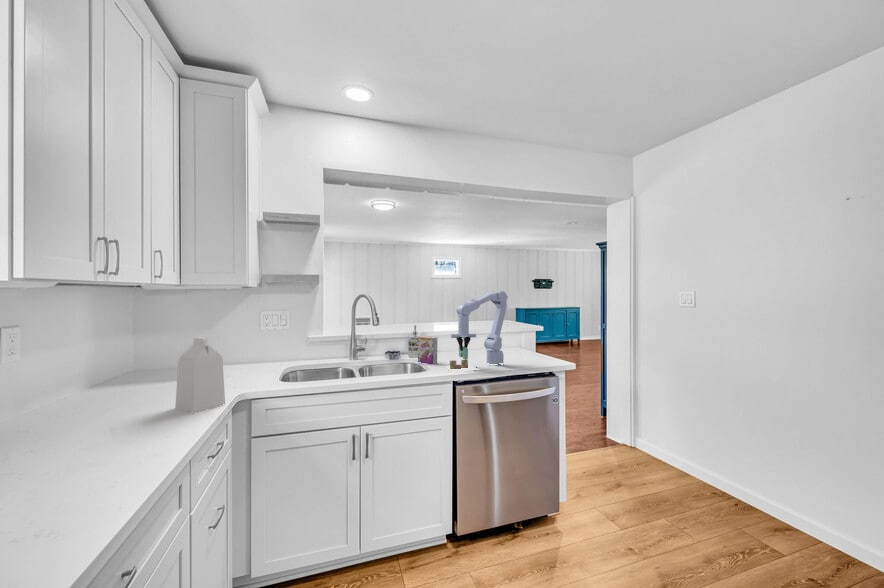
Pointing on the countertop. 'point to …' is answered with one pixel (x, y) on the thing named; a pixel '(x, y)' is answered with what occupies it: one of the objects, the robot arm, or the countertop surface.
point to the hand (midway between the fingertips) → (463, 350)
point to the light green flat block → (463, 353)
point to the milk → (200, 378)
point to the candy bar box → (427, 349)
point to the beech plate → (453, 365)
